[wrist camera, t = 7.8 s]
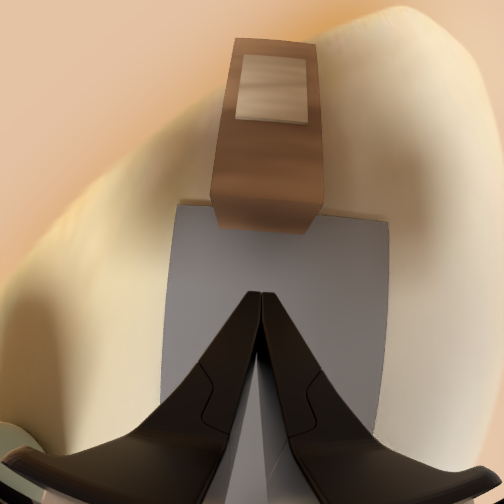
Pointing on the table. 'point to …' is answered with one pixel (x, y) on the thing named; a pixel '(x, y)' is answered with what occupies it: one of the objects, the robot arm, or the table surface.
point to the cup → (6, 439)
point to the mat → (294, 301)
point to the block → (269, 139)
